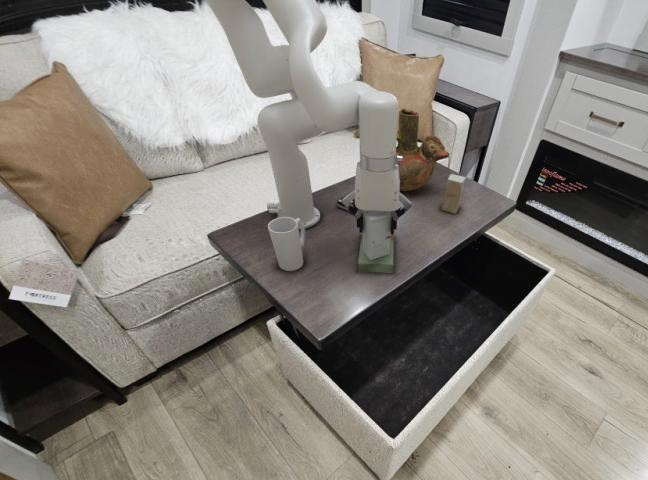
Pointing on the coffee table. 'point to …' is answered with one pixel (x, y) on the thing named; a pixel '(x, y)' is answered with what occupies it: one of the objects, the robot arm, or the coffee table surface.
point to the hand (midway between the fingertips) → (376, 230)
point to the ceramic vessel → (416, 152)
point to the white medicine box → (376, 233)
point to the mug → (287, 242)
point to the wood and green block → (376, 260)
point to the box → (453, 193)
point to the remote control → (343, 204)
